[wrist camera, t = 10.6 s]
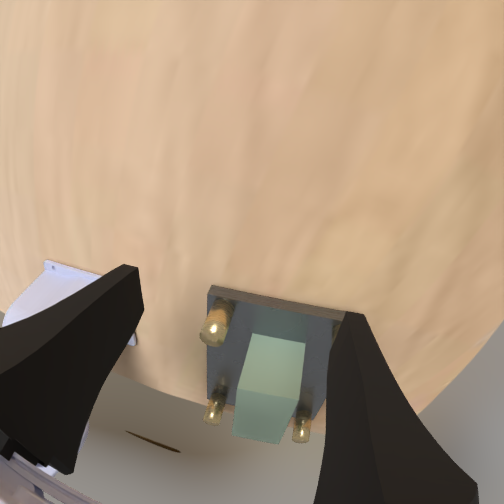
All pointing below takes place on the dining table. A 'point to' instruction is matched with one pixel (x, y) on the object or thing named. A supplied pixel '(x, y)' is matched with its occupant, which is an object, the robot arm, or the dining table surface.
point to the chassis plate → (272, 325)
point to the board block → (268, 388)
